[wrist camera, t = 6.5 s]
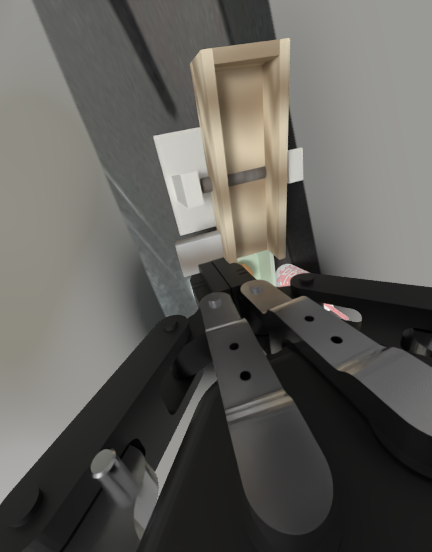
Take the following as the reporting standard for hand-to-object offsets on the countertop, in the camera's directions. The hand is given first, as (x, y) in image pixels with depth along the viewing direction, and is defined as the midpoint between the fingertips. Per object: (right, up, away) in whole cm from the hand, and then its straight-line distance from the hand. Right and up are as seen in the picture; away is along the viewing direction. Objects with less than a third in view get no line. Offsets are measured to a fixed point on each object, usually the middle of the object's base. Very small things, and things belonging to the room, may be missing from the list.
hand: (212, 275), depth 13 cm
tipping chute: (0, +10, +11) cm, 15 cm away
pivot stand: (+1, +13, +18) cm, 22 cm away
